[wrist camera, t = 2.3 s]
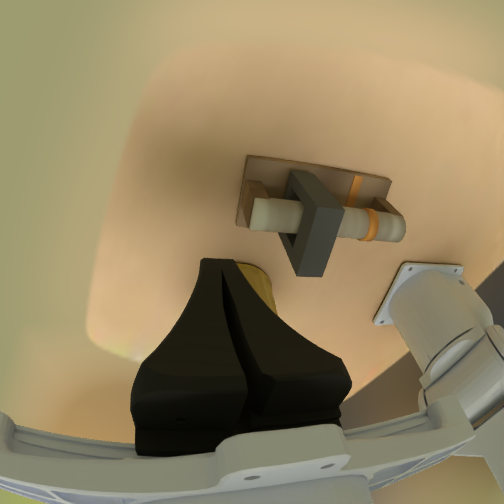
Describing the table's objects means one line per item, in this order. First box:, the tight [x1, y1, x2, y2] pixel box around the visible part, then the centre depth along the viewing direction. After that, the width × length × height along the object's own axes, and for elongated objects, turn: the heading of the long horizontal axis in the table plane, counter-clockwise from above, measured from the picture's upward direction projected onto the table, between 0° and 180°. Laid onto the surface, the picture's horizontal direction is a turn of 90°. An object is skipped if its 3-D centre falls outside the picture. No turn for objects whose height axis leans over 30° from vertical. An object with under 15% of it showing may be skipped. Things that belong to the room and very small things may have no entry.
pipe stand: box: [236, 155, 406, 242], centre depth 21 cm, size 11×5×4 cm, turn 80°
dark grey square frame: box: [278, 171, 345, 277], centre depth 19 cm, size 2×4×5 cm, turn 170°
